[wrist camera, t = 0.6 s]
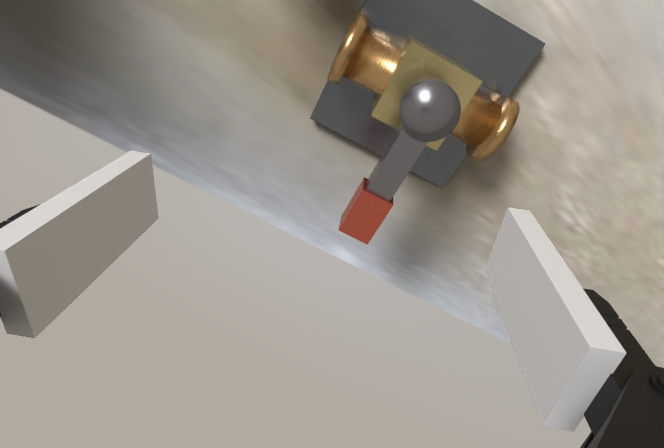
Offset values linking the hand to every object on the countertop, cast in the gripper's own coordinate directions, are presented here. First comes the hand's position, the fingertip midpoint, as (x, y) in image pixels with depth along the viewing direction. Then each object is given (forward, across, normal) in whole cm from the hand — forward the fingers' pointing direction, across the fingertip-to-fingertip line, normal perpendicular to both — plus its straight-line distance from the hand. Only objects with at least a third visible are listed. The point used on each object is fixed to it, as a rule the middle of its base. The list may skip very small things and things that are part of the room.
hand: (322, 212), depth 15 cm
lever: (+17, +4, -3) cm, 17 cm away
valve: (+27, +5, +1) cm, 27 cm away
